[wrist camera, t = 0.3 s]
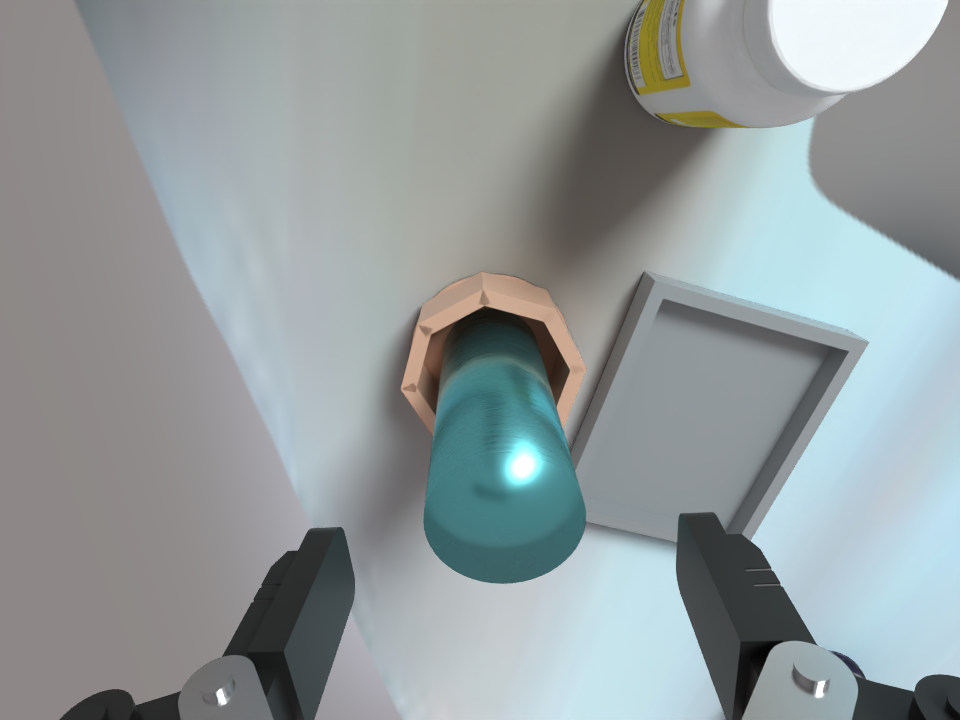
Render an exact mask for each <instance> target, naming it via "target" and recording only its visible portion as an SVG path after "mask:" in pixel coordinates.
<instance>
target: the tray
mask: <svg viewBox="0 0 960 720" xmlns="http://www.w3.org/2000/svg"><path fill="white" fill-rule="evenodd" d="M868 344H869V342H868V341H866V340H865V339H863V338H861V337H859V336H858V335H856V334H854V333H852V332H850V331H849V330H846V329H843V328H839V327H836V326H833V325H829V324H826V323H822V322H819V321H815V320H812V319H808V318H805V317H801V316H798V315H794V314H791V313H788V312H784V311H781V310H777V309H774V308H770V307H767V306H763V305H760V304H756V303H753V302H750V301H746V300H743V299H739V298H736V297H732V296H729V295H725V294H722V293H718V292H715V291H711V290H708V289H705V288H701V287H698V286H694V285H691V284H687V283H684V282H680V281H677V280H673V279H670V278H666V277H663V276H660V275H656V274H653V273H649V272H646V271H645V272H644V274H643V277H642V279H641V281H640V284H639V286H638V289H637V291H636V294H635V296H634V299H633V301H632V303H631V306H630V308H629V311H628V313H627V316H626V318H625V320H624V323H623V325H622V328H621V330H620V333H619V335H618V338H617V340H616V342H615V345H614V347H613V350H612V352H611V355H610V357H609V360H608V362H607V364H606V367H605V369H604V372H603V374H602V377H601V379H600V382H599V384H598V386H597V389H596V391H595V394H594V396H593V399H592V401H591V403H590V406H589V408H588V411H587V413H586V416H585V418H584V421H583V423H582V425H581V428H580V430H579V433H578V435H577V438H576V440H575V443H574V445H573V447H572V450H571V452H570V455H571V459H572V462H573V466H574V469H575V472H576V476H577V479H578V483H579V486H580V490H581V493H582V496H583V500H584V503H585V509H586V522H590V523H594V524H599V525H603V526H607V527H612V528H616V529H621V530H625V531H629V532H634V533H638V534H643V535H647V536H651V537H656V538H660V539H665V540H669V541H673V542H677V535H678V518H679V515H680V514H681V513H699V512H714V513H715V514H716V515H717V517H718V519H719V521H720V523H721V525H722V526H723V528H724V530H725V532H726V534H742V535H743V536H745V537H746V538H747V539H748V540H751V539H752V537H753V535H754V534H755V532H756V530H757V529H758V527H759V525H760V524H761V522H762V520H763V519H764V517H765V515H766V514H767V512H768V510H769V509H770V507H771V505H772V504H773V502H774V500H775V499H776V497H777V495H778V494H779V492H780V490H781V489H782V487H783V485H784V484H785V482H786V480H787V479H788V477H789V475H790V474H791V472H792V470H793V469H794V467H795V465H796V464H797V462H798V460H799V459H800V457H801V455H802V454H803V452H804V450H805V449H806V447H807V445H808V444H809V442H810V440H811V439H812V437H813V435H814V434H815V432H816V430H817V429H818V427H819V425H820V424H821V422H822V420H823V419H824V417H825V415H826V414H827V412H828V410H829V409H830V407H831V405H832V404H833V402H834V400H835V399H836V397H837V395H838V394H839V392H840V390H841V389H842V387H843V385H844V384H845V382H846V380H847V379H848V377H849V375H850V374H851V372H852V370H853V369H854V367H855V365H856V364H857V362H858V360H859V359H860V357H861V355H862V354H863V352H864V350H865V349H866V347H867V345H868Z"/></svg>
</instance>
